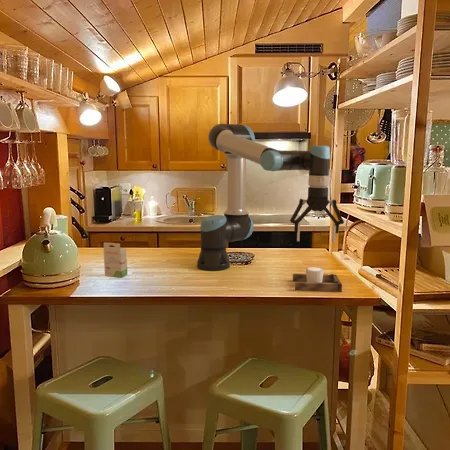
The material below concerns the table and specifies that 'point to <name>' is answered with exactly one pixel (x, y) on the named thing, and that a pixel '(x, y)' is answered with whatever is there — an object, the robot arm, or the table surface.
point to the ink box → (115, 260)
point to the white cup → (314, 274)
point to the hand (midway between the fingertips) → (315, 241)
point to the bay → (329, 284)
